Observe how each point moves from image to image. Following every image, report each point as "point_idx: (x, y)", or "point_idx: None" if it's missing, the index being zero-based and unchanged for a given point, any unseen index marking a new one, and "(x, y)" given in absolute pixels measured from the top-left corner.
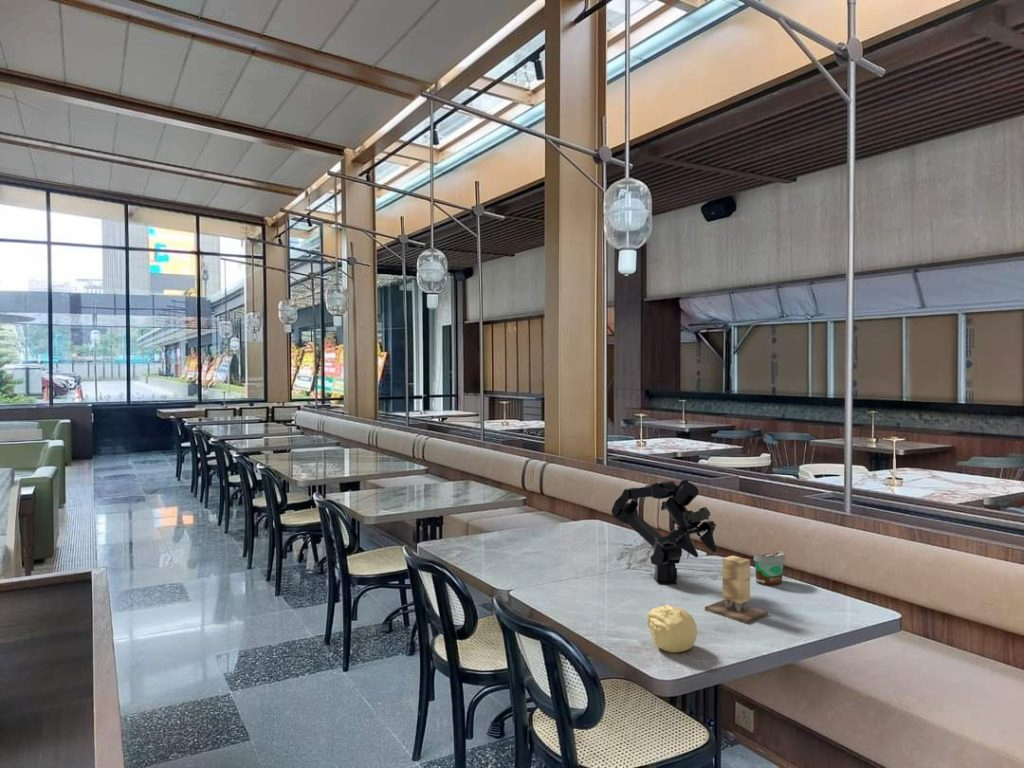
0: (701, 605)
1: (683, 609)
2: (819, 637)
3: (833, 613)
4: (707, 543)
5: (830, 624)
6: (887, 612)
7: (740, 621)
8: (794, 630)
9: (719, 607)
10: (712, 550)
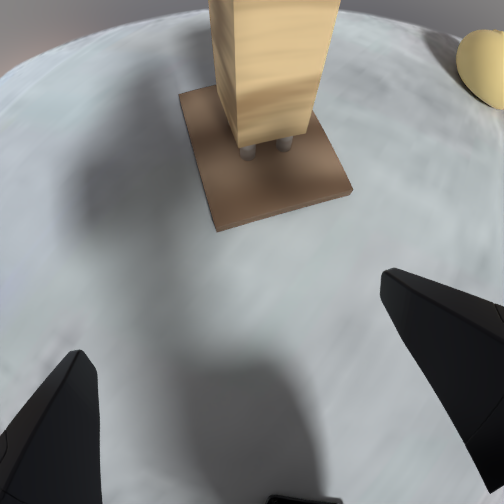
0: (335, 238)
1: (495, 38)
2: (191, 13)
3: (43, 91)
4: (82, 486)
5: (108, 47)
6: None
7: None
8: (206, 35)
9: (305, 163)
10: (94, 396)
